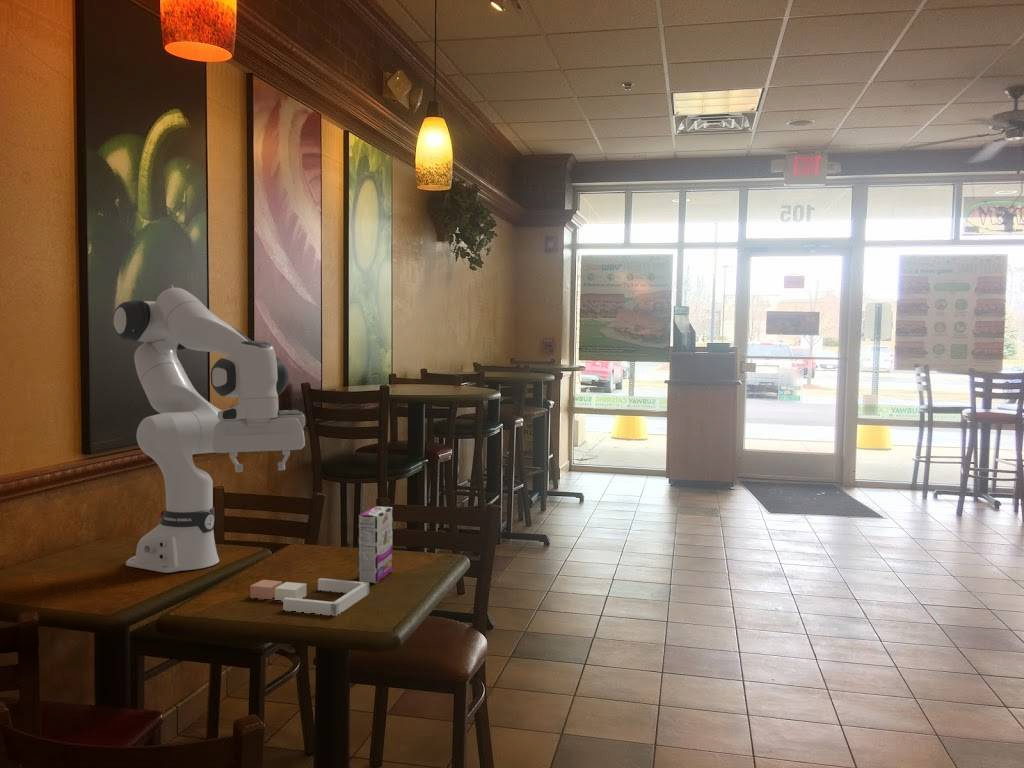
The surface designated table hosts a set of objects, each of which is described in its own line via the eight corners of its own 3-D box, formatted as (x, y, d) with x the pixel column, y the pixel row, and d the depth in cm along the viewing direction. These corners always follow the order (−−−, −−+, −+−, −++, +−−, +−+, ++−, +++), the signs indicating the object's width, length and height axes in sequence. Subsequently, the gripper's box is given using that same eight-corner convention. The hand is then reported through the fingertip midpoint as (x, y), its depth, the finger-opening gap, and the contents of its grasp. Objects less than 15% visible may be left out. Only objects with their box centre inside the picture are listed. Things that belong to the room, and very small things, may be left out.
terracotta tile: (250, 599, 176) (250, 585, 176) (262, 592, 181) (262, 579, 181) (270, 601, 175) (270, 587, 175) (282, 594, 180) (282, 581, 180)
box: (283, 610, 168) (283, 598, 168) (320, 588, 184) (320, 578, 184) (336, 616, 165) (336, 604, 165) (369, 593, 181) (369, 582, 181)
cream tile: (274, 601, 175) (274, 588, 175) (286, 595, 180) (286, 581, 179) (295, 603, 174) (295, 590, 173) (306, 596, 178) (306, 583, 178)
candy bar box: (374, 570, 200) (375, 505, 200) (393, 571, 199) (393, 506, 199) (357, 582, 189) (357, 514, 189) (376, 584, 188) (377, 515, 188)
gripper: (306, 409, 188) (307, 467, 188) (215, 412, 185) (217, 471, 185) (303, 409, 182) (305, 470, 182) (210, 412, 178) (211, 474, 178)
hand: (260, 471), depth 183 cm, fingers open, 8 cm apart
